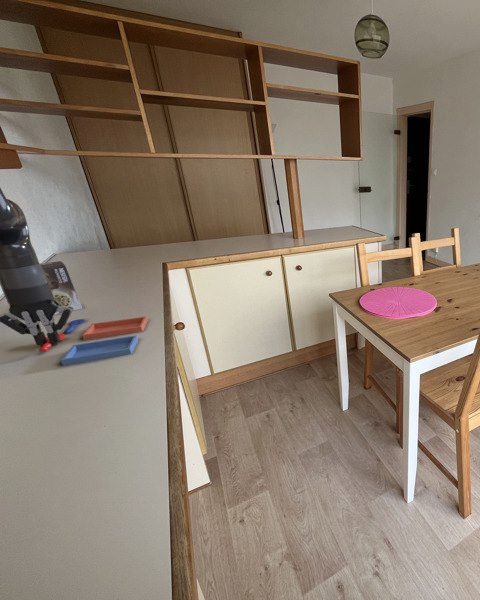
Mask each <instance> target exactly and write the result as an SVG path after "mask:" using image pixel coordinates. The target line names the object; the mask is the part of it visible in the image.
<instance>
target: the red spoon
mask: <svg viewBox="0 0 480 600" xmlns="http://www.w3.org/2000/svg"><path fill="white" fill-rule="evenodd" d="M58 335H59V337H60V341H61V340H64V339H65V338H66V334H65V333H63V332H61V333H59V332H58ZM46 339H47V342H46V343H45V344H44V345H43V346H42V347H41V346H40V348H39V351H40V352H41V353H46V352H48V351H49V349H50V348H51V347H53V346H52V345H51V344H50V341H49V339H48V336H47V337H46Z"/></svg>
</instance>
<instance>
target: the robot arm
mask: <svg viewBox="0 0 480 600" xmlns="http://www.w3.org/2000/svg"><path fill="white" fill-rule="evenodd" d="M40 264H41V263H40V261H39V259H38V256H37V254H36V250H35V248H34V247H33V245H32V241H31V237H30V230H29V226H28V222H27V218H26V216H25V213H24V211H23V209H22V208H21V207H20V206H19V204H17V203H16V202H14V201H12V200H11V199H9V198H7V197H6V195H5V193H4V191H3V190H2V188H1V187H0V288H1V290H2V293H3V294H4V297H5V299H6V302H7V304H8V305H9V308H8V312H7V313H2V315H1V316H0V323H1V324H3V325H4V326H6V327H8V328H10V329H12V330H13V331H14V332H16V333H18V334H20V335H23V336H24V335H31V336H32V337H33V339H34V342H35V344H36V345H37V346H38V347H40V348H41V347H42V346H43V345H44V344H45V343H46V342H47V339H46V338H47V337H48V339H49V341H50V344H51V345H52V346H51V347H54V346H57V345H58V343H59V342H60V341H61V340H60V337H59V335H58V334H59V332H58V331H60V330H63V328H64V327H65V326H66V324H67V322H68V320H69V318H70V316H71V314H72V313H73V312H74V310H73V308H72V307H64V306H60V305H59V303H58V302H56V301H55V300H54V297H53V294H52V291H51V289H50V286H49V283H48V281H47V276H46V275H45V273H44V271H43V269H42V267H41V266H40ZM57 310H58V311H59V314H58V315H60V317H59V320H58V321H57V323H56V322H55V317H54V314H55V312H56V311H57ZM55 315H56V314H55ZM21 320H22V321H21ZM23 321H24V322H23ZM40 323H41V324H40ZM41 325H42V326H43V327H44V329H45V331H46V334H45V332H44V331H42V330H43V329H42V327H41ZM46 336H47V337H46Z"/></svg>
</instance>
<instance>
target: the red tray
mask: <svg viewBox="0 0 480 600" xmlns="http://www.w3.org/2000/svg"><path fill="white" fill-rule="evenodd" d="M148 322H149V320H148V317H147V316H139V317H129V318H123V319H116V320H108V321H102V322H93V323H91V324H90V325H89V327H87V329H86V330H84V332H83V333H82V334H81V337H82V340H83V341H88V340H94V339H102V338H108V337H115V336H122V335H128V334H134V333H135V334H136V333H141V332H142V333H143V331H144V329H145V328H146V325H147V323H148Z"/></svg>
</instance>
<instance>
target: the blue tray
mask: <svg viewBox="0 0 480 600" xmlns="http://www.w3.org/2000/svg"><path fill="white" fill-rule="evenodd" d="M138 342H139V337H138V335H136V334H135V335H129V336H122V337H116V338H110V339H103V340H96V341H90V342H83V343H78V344H77V343H76V344H72V346H71V347H70V349H68V351H67V352H66V353H65V354H64V355H63V357H61V359H60V363H61V365H62V366H65V367H66V366H69V365H77V364H82V363H87V362H93V361H99V360H104V359H110V358H116V357H121V356H127V355H132V353H133V352H134V349H135V348H136V346H137V344H138Z"/></svg>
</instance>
